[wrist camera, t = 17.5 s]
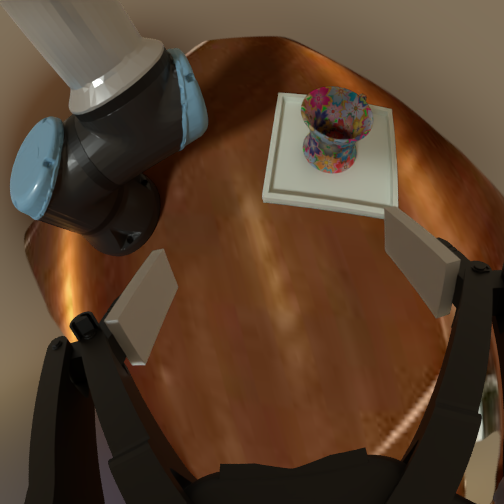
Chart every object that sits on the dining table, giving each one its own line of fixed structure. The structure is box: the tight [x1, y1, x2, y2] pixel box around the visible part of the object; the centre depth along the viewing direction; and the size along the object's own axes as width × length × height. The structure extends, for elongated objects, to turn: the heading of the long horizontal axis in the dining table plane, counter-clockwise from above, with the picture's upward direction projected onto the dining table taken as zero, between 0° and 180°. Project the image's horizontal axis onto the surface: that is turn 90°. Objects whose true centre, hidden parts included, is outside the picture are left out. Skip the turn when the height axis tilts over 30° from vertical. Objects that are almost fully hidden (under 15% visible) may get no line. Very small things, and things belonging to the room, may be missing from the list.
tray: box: [262, 93, 398, 219], centre depth 40 cm, size 20×20×2 cm
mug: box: [301, 86, 373, 173], centre depth 35 cm, size 12×9×11 cm
